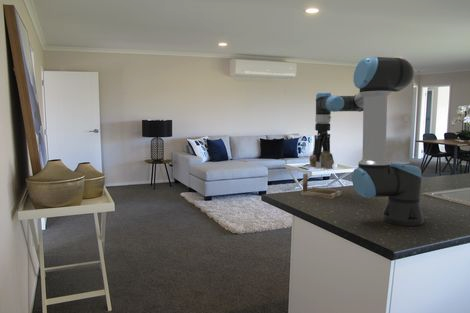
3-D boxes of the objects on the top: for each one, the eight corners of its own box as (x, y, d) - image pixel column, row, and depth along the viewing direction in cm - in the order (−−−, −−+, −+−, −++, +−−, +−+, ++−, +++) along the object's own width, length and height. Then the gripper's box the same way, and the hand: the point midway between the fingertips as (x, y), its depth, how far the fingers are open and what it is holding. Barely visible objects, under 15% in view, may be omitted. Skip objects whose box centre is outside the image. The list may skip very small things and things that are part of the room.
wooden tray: (330, 199, 189) (331, 177, 187) (300, 194, 199) (300, 174, 198) (341, 194, 199) (342, 174, 197) (312, 190, 209) (312, 170, 208)
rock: (338, 165, 195) (332, 147, 195) (332, 168, 190) (326, 150, 190) (319, 170, 203) (312, 153, 203) (312, 173, 199) (306, 155, 198)
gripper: (321, 123, 184) (319, 170, 187) (337, 122, 200) (336, 165, 202) (307, 123, 189) (306, 168, 192) (324, 122, 204) (323, 164, 207)
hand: (321, 167), depth 197 cm, fingers closed on rock, 7 cm apart
